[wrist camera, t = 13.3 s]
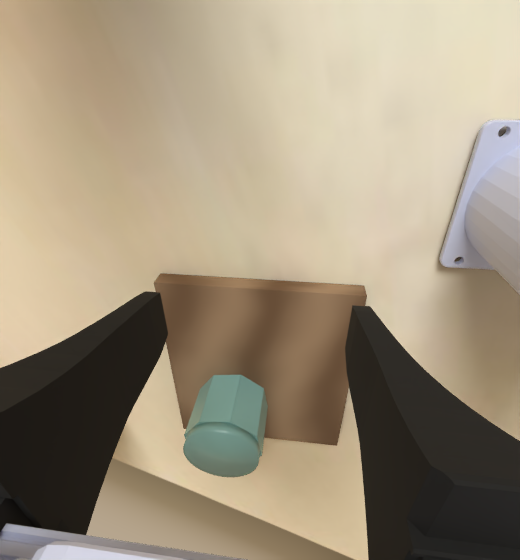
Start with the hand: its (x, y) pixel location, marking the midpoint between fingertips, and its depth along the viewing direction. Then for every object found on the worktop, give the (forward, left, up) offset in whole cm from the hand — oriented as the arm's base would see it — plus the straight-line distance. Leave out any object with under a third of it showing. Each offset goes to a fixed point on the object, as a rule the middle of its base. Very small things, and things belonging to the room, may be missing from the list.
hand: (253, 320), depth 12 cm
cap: (+3, +15, -8) cm, 17 cm away
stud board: (+1, +12, -9) cm, 15 cm away
